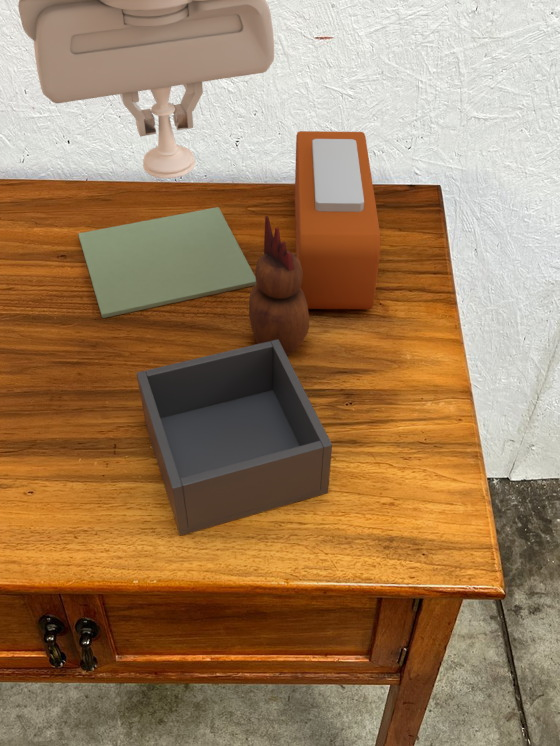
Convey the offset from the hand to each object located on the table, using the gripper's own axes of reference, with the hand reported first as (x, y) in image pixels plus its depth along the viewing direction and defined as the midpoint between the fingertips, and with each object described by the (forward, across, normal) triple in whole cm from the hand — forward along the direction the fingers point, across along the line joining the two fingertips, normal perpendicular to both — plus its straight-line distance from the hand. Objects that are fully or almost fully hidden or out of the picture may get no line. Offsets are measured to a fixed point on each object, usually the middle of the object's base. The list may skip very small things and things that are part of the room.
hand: (165, 129), depth 71 cm
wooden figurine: (+22, +8, -9) cm, 25 cm away
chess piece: (+4, 0, 0) cm, 4 cm away
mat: (+22, 0, +9) cm, 23 cm away
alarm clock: (+22, +19, +5) cm, 29 cm away
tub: (+22, -1, -22) cm, 31 cm away
